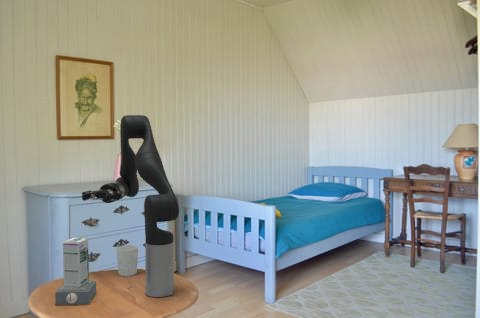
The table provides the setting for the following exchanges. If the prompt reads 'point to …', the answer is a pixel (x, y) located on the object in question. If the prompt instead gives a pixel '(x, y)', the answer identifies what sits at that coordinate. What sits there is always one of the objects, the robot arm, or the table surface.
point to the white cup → (127, 260)
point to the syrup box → (75, 262)
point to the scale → (75, 296)
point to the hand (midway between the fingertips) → (95, 198)
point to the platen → (82, 288)
